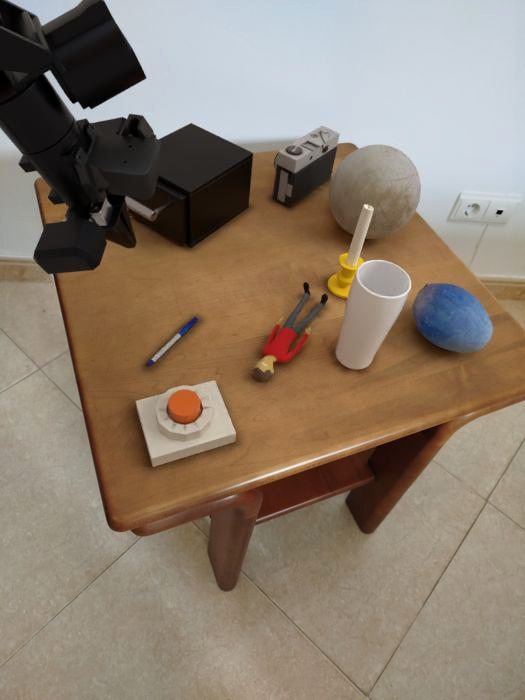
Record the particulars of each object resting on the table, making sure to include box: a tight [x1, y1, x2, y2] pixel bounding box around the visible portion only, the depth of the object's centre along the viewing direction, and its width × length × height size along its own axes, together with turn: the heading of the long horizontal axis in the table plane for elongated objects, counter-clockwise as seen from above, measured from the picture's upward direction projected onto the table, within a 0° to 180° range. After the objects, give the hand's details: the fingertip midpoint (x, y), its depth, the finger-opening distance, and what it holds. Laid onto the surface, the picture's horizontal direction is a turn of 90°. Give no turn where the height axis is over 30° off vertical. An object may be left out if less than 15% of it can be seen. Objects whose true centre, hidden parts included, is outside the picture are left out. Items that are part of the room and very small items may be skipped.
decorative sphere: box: [328, 144, 422, 240], centre depth 81 cm, size 15×15×15 cm
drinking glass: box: [335, 259, 412, 371], centre depth 63 cm, size 7×7×15 cm
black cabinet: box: [157, 122, 254, 249], centre depth 82 cm, size 16×14×11 cm
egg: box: [411, 282, 494, 354], centre depth 70 cm, size 9×9×15 cm
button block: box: [135, 379, 237, 468], centre depth 58 cm, size 10×8×4 cm
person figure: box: [252, 281, 329, 382], centre depth 68 cm, size 5×4×18 cm
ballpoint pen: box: [146, 316, 199, 367], centre depth 67 cm, size 10×1×1 cm, turn 149°
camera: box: [272, 125, 341, 209], centre depth 90 cm, size 14×8×10 cm, turn 141°
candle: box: [327, 203, 374, 299], centre depth 71 cm, size 5×5×16 cm
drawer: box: [125, 179, 188, 246], centre depth 80 cm, size 18×12×9 cm
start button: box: [168, 389, 200, 424], centre depth 56 cm, size 4×4×2 cm
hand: (132, 245), depth 56 cm, fingers closed
